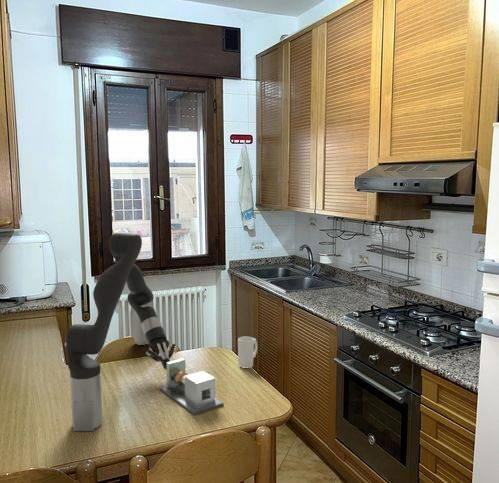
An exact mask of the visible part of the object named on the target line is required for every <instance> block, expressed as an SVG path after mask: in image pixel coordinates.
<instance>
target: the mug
mask: <svg viewBox="0 0 499 483" xmlns="http://www.w3.org/2000/svg"><path fill="white" fill-rule="evenodd" d="M237 351H238V352H237V354H238V355H237V356H238V357H237V358H238V367H239V366H240V367H248V368H249V369H252V368H253V367H254V358H256V356H257V353H258V352H257V351H258V341H257V339H256V338H254V337H251V336H240V337H238V339H237ZM240 367H239V368H240Z"/></svg>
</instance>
